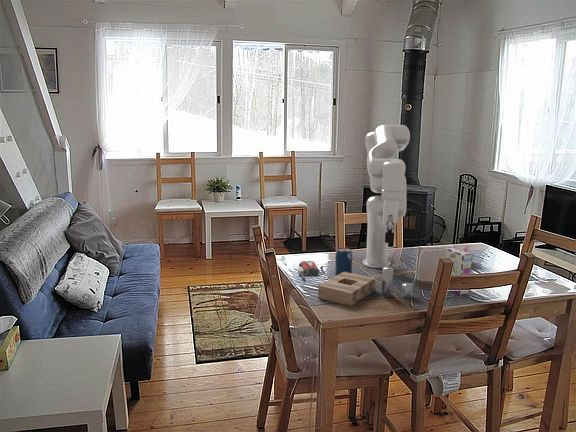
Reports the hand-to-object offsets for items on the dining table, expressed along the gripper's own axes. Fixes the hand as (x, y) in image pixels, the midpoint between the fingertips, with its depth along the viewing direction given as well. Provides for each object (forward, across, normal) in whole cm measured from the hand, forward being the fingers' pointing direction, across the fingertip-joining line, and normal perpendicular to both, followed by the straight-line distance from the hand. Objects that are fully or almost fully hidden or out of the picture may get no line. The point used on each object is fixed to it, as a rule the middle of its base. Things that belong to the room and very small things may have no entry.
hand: (389, 239), depth 199 cm
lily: (+22, -49, +33) cm, 63 cm away
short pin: (+22, 0, +8) cm, 24 cm away
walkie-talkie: (+23, -19, -34) cm, 45 cm away
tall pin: (+22, 0, 0) cm, 22 cm away
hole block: (+22, +2, -15) cm, 27 cm away
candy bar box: (+22, -12, +27) cm, 37 cm away
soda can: (+22, -18, -19) cm, 34 cm away
